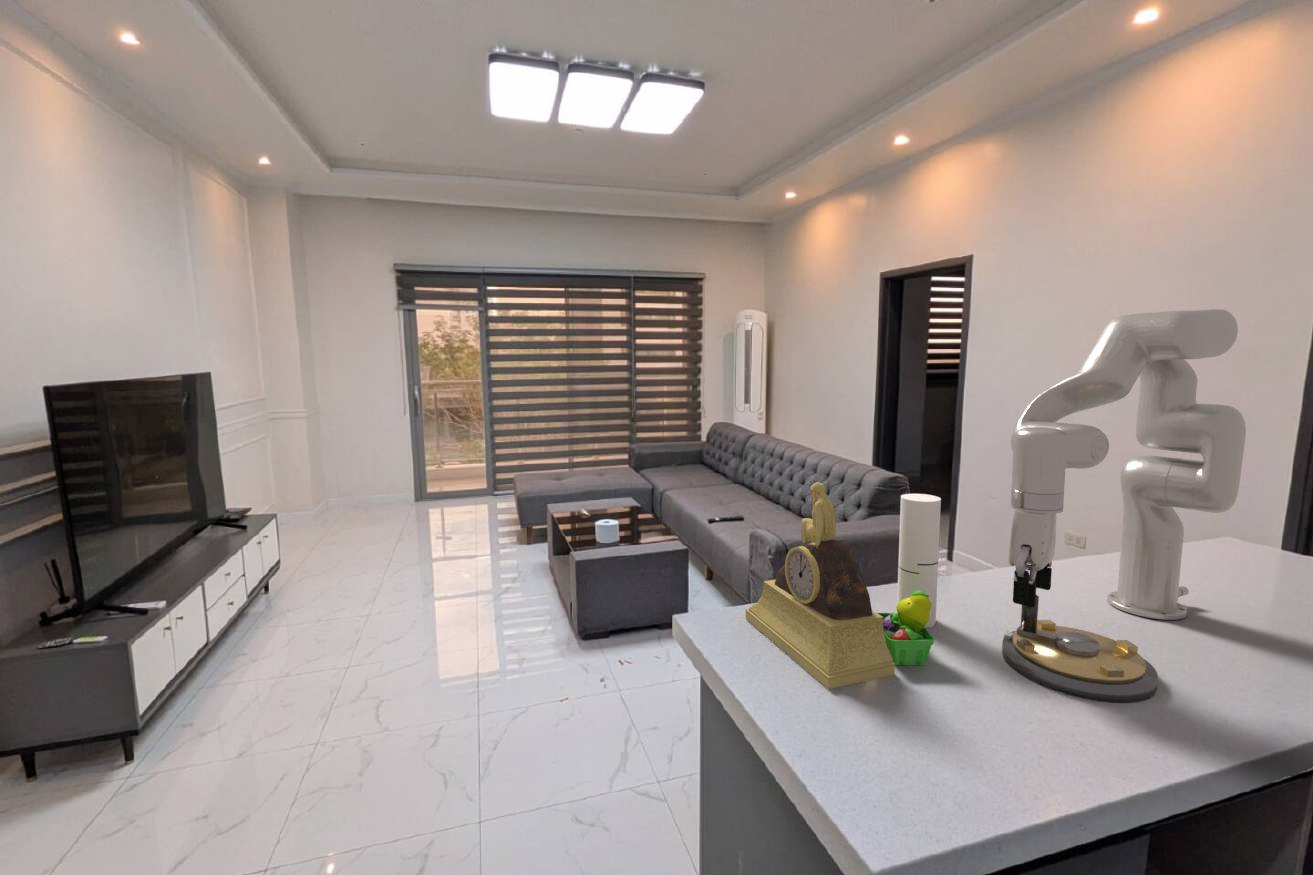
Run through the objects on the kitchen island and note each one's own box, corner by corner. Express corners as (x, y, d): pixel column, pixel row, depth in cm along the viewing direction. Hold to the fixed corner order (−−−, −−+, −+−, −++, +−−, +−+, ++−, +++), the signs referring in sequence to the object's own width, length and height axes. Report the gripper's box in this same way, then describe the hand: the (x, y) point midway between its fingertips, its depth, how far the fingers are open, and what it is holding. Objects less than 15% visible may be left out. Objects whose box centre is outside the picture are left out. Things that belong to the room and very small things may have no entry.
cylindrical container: (939, 629, 113) (945, 502, 110) (900, 626, 114) (905, 501, 111) (930, 613, 120) (935, 494, 117) (893, 611, 121) (897, 493, 118)
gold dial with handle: (992, 630, 107) (994, 586, 106) (1093, 631, 106) (1097, 587, 105) (1053, 683, 89) (1057, 631, 88) (1176, 684, 88) (1181, 632, 87)
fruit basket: (867, 638, 110) (868, 580, 108) (915, 638, 109) (917, 580, 108) (889, 669, 98) (891, 605, 97) (942, 669, 98) (945, 605, 97)
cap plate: (1059, 631, 111) (1060, 618, 111) (1189, 687, 91) (1191, 671, 91) (973, 649, 104) (974, 635, 104) (1094, 714, 85) (1095, 697, 84)
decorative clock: (745, 619, 119) (746, 473, 115) (800, 609, 123) (802, 469, 120) (828, 689, 93) (832, 504, 89) (894, 675, 97) (900, 497, 93)
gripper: (1026, 488, 108) (1022, 577, 111) (995, 506, 97) (992, 605, 99) (1075, 494, 103) (1069, 587, 105) (1049, 514, 91) (1043, 618, 93)
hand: (1032, 595), depth 102 cm, fingers open, 9 cm apart
